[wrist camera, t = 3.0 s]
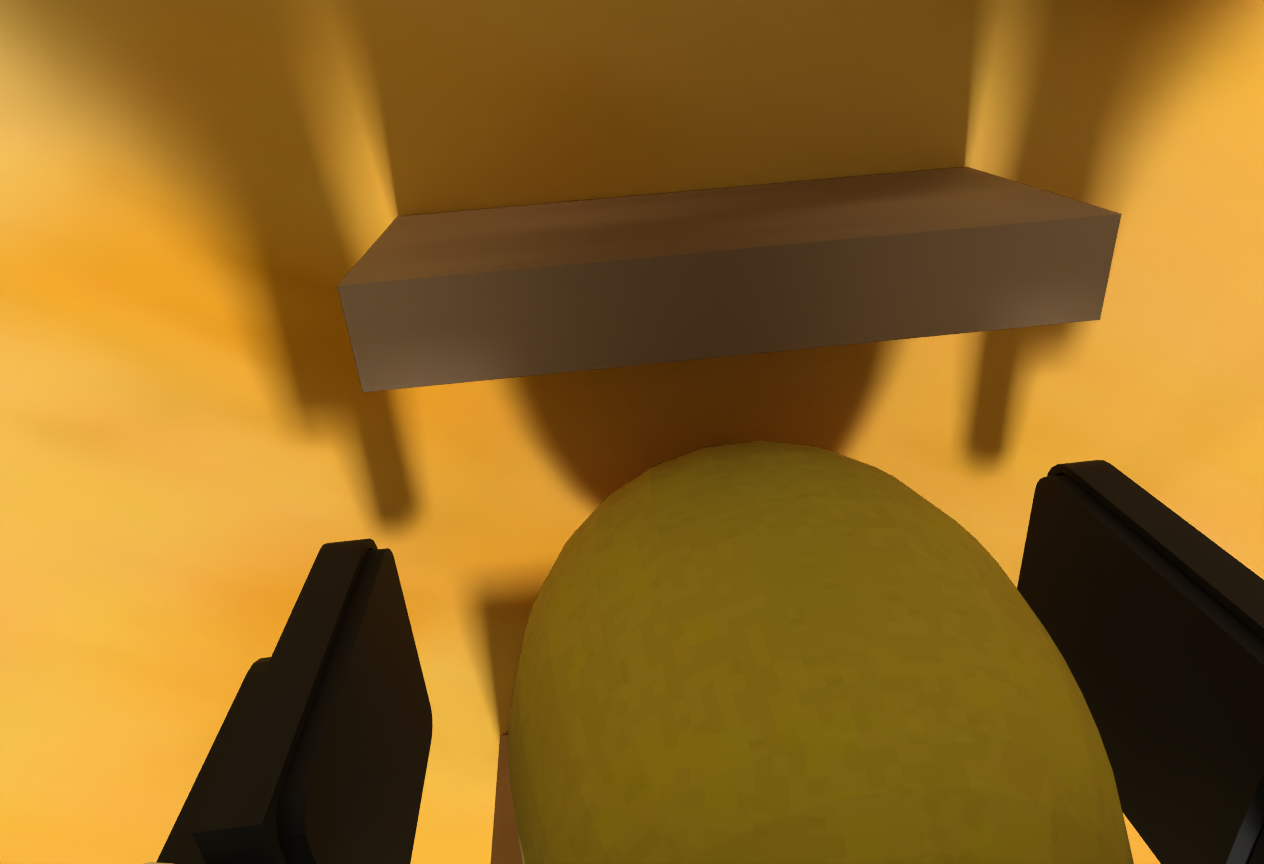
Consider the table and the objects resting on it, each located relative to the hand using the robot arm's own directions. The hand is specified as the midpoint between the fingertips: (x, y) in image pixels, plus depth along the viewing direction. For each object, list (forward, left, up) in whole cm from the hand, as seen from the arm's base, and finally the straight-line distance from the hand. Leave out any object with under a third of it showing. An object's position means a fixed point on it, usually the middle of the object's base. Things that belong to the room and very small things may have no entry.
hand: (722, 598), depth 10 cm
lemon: (0, 0, -2) cm, 2 cm away
